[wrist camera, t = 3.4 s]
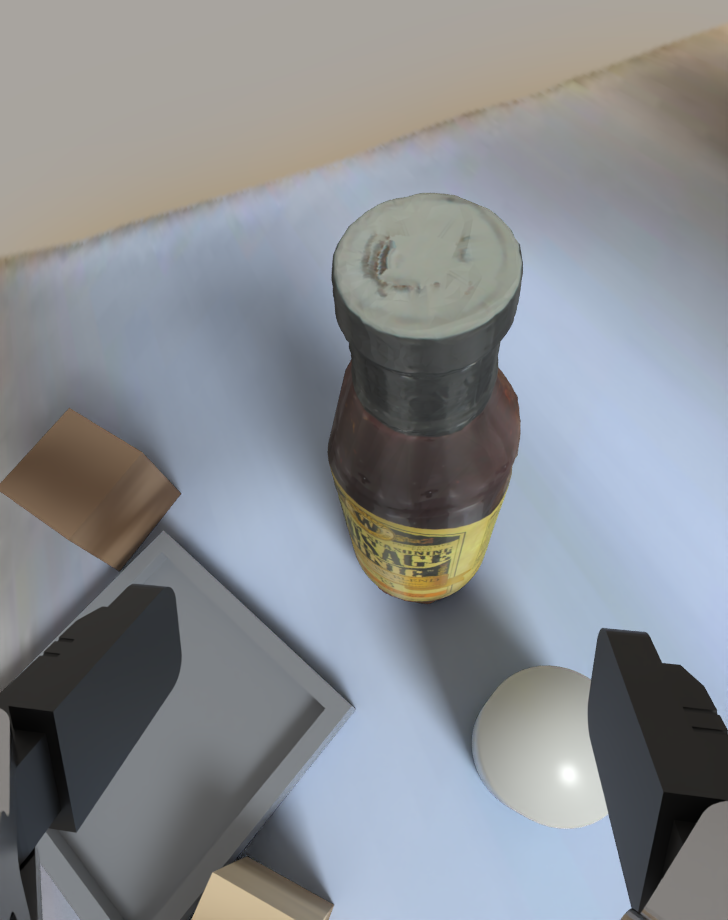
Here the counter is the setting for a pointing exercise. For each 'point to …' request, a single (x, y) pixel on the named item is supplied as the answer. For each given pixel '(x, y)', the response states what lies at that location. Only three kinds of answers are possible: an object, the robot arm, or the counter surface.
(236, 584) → the counter surface
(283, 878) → the oak block
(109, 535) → the walnut block
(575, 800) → the white rounded cylinder
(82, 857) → the tray
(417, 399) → the sauce bottle
